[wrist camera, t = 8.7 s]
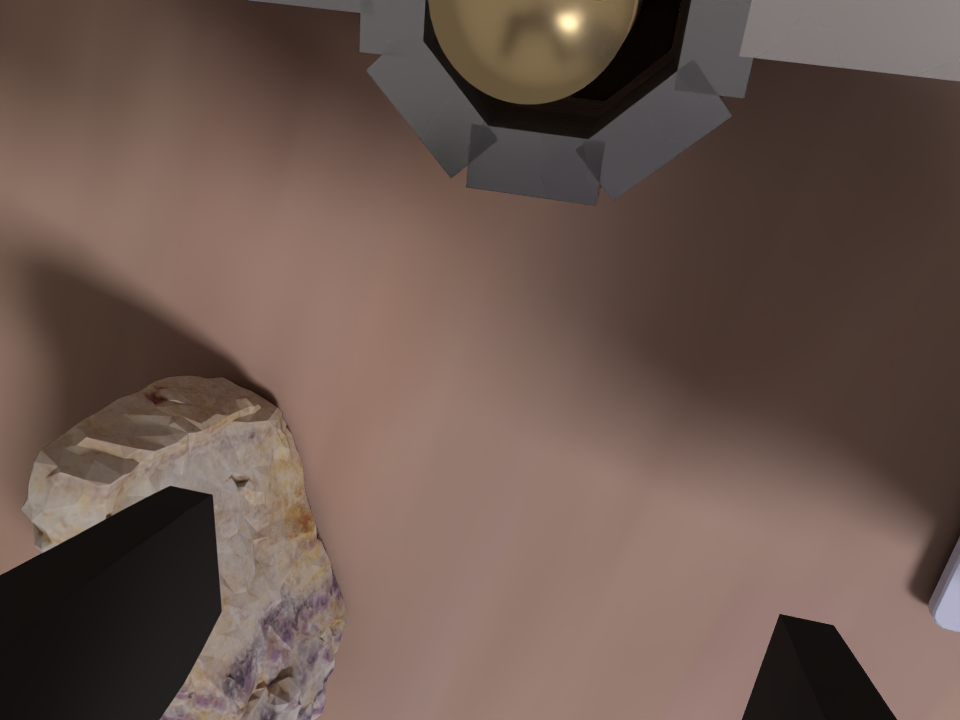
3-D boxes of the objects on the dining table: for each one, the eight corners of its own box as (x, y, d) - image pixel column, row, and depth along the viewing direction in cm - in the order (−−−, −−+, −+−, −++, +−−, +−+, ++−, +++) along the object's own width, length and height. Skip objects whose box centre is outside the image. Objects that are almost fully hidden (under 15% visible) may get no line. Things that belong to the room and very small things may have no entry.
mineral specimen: (42, 351, 22) (-166, 474, 16) (268, 330, 20) (121, 460, 14) (187, 683, 27) (66, 864, 21) (379, 691, 25) (300, 890, 19)
